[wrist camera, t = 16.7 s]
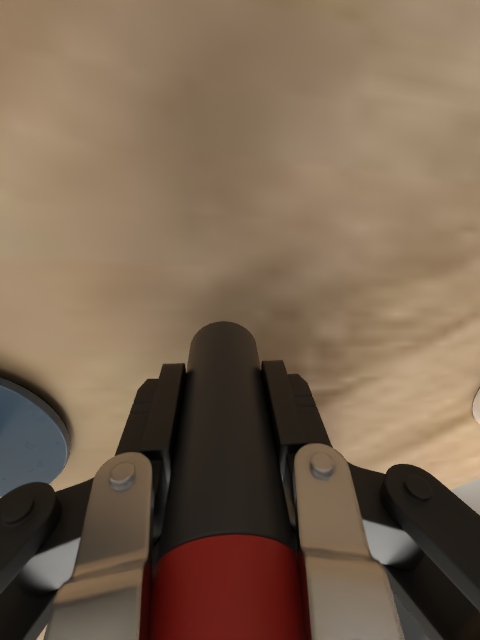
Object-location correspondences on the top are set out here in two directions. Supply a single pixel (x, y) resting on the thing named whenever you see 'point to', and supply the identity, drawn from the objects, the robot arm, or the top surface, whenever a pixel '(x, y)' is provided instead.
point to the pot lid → (29, 439)
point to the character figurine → (477, 407)
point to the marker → (225, 507)
